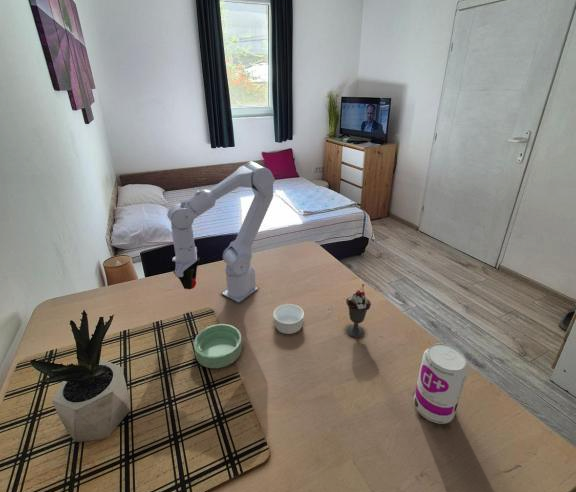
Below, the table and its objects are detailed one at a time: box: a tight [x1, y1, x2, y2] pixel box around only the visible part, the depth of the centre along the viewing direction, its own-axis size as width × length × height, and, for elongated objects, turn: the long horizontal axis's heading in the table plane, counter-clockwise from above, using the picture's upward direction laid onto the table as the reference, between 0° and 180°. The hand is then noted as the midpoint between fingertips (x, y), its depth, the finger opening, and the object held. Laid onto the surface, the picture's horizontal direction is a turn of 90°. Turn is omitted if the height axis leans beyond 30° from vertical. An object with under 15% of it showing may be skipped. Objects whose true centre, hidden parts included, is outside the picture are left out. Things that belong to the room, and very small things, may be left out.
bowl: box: [193, 323, 243, 369], centre depth 85 cm, size 12×12×4 cm
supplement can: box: [413, 342, 469, 425], centre depth 68 cm, size 8×8×15 cm
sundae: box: [345, 283, 372, 339], centre depth 90 cm, size 7×7×15 cm
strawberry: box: [190, 277, 197, 290], centre depth 99 cm, size 4×4×4 cm
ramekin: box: [272, 303, 305, 335], centre depth 94 cm, size 9×9×4 cm
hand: (190, 284), depth 99 cm, fingers closed on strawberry, 3 cm apart
